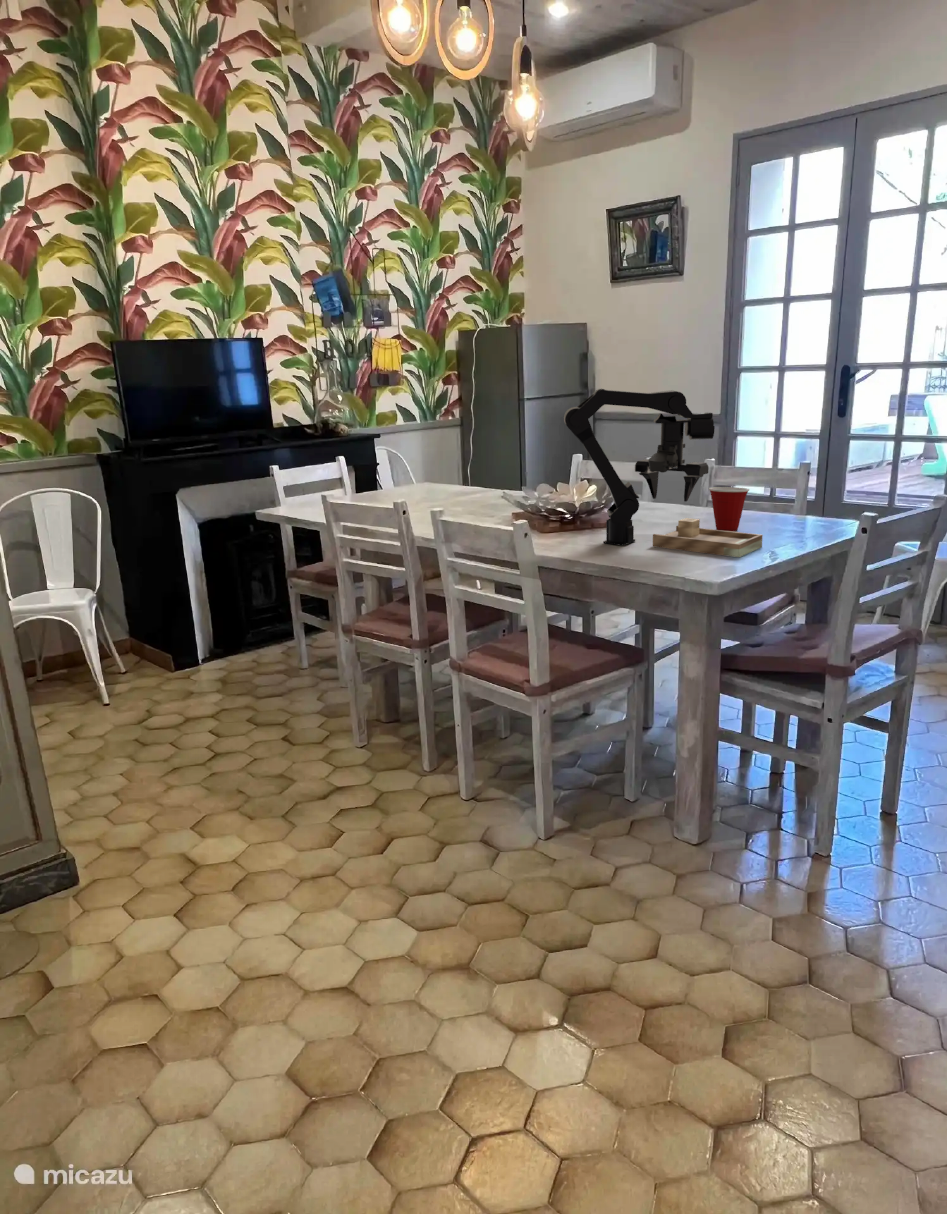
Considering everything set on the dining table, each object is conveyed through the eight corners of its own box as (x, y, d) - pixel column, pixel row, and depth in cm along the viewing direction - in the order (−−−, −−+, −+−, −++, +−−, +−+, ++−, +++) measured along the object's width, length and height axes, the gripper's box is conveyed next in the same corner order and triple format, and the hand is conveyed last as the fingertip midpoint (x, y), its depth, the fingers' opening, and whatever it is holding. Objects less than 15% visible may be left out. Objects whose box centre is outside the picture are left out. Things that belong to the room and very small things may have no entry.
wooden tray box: (652, 546, 219) (652, 534, 218) (677, 537, 228) (677, 525, 227) (739, 557, 203) (739, 544, 202) (761, 547, 212) (762, 534, 211)
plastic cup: (753, 528, 234) (755, 485, 231) (737, 535, 227) (739, 491, 223) (717, 524, 241) (719, 483, 238) (700, 531, 233) (701, 488, 230)
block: (678, 535, 221) (678, 520, 219) (685, 532, 223) (685, 517, 222) (691, 536, 218) (692, 521, 217) (699, 534, 221) (699, 519, 220)
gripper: (624, 442, 216) (623, 501, 221) (690, 444, 205) (688, 507, 209) (645, 438, 224) (644, 495, 229) (710, 440, 213) (707, 501, 217)
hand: (669, 499), depth 221 cm, fingers open, 9 cm apart
